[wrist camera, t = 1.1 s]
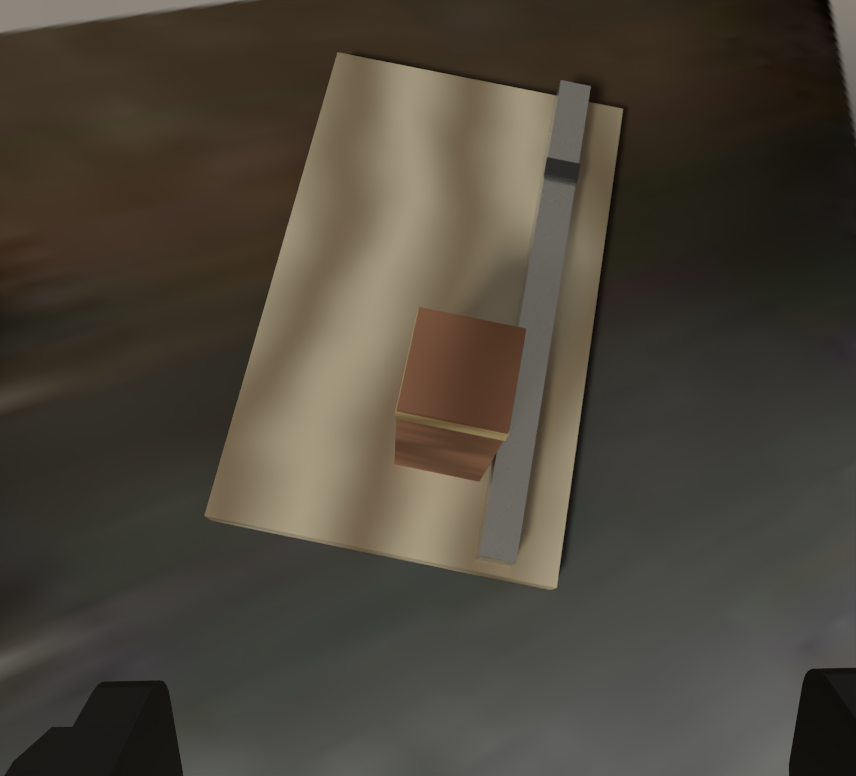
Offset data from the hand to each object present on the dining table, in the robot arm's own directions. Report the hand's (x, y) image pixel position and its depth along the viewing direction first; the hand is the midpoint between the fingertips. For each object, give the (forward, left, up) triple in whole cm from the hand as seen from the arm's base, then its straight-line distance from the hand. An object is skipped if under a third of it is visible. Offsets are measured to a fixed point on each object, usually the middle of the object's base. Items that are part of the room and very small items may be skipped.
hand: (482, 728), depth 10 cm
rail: (+3, +17, -25) cm, 30 cm away
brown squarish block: (-1, +10, -25) cm, 27 cm away
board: (-2, +17, -26) cm, 31 cm away
